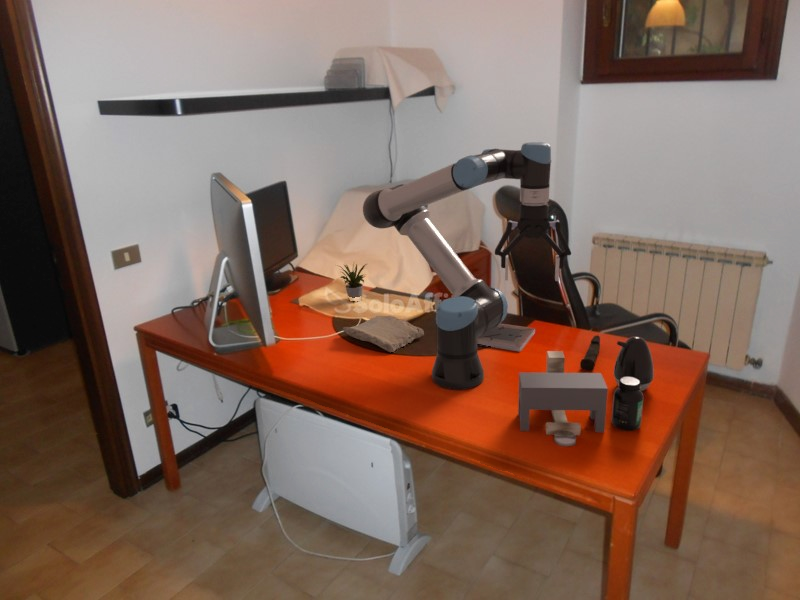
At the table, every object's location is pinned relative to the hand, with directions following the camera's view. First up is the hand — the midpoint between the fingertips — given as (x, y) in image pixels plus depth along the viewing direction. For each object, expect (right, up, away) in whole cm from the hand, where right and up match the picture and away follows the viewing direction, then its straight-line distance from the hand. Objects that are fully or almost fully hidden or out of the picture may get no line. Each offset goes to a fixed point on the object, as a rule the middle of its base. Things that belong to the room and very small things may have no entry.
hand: (531, 279), depth 165 cm
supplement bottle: (+20, -37, -17) cm, 45 cm away
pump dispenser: (+28, -30, 0) cm, 41 cm away
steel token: (+3, -40, -23) cm, 46 cm away
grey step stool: (+4, -37, -15) cm, 40 cm away
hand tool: (+22, -24, +19) cm, 38 cm away
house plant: (-56, -6, +78) cm, 97 cm away
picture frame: (-4, -19, +37) cm, 42 cm away
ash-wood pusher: (+4, -35, -11) cm, 37 cm away
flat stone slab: (-43, -19, +41) cm, 62 cm away
